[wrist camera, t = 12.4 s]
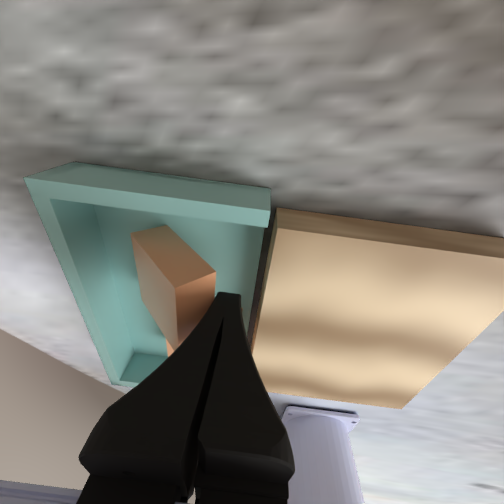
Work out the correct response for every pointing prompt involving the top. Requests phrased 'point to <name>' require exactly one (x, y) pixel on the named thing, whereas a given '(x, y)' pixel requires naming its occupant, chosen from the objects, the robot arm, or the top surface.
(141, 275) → the tile
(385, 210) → the top surface
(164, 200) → the tray
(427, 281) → the board
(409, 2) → the top surface
